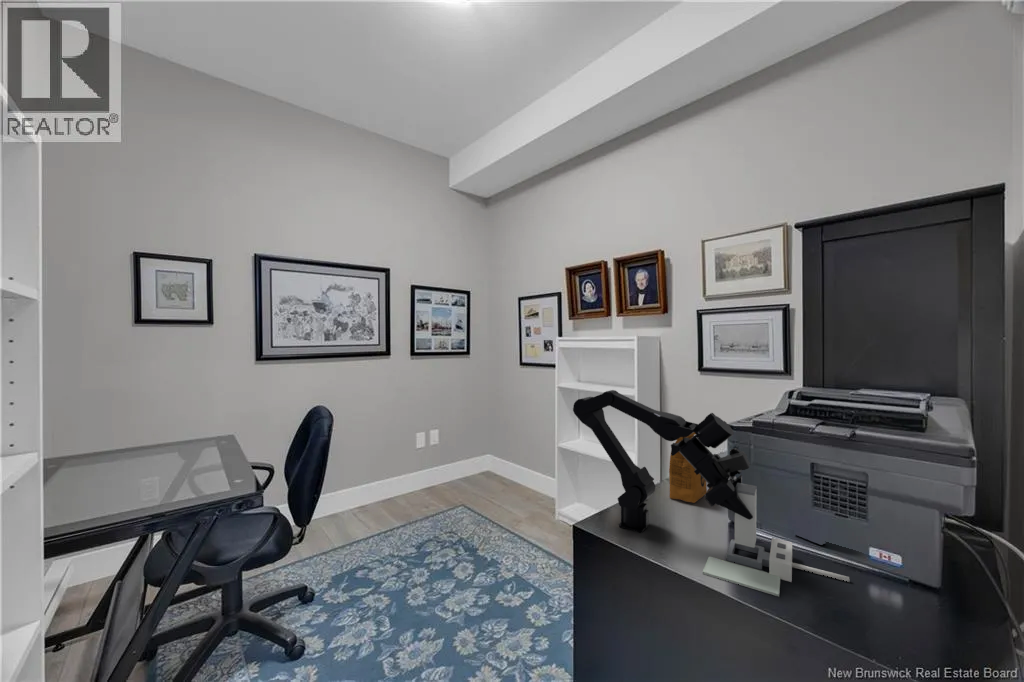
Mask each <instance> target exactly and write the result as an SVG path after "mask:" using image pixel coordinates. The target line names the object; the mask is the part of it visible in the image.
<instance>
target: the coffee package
mask: <svg viewBox="0 0 1024 682" xmlns="http://www.w3.org/2000/svg"><path fill="white" fill-rule="evenodd" d="M695 435H696V434H695V433H692V434H691V435H689V436H688V437H686V438H689V439H691V438H692V437H693V436H695ZM684 438H685V437H680V438H679V439H677V440H675V441H674V443H679V442H680V441H681V440H682V439H684ZM668 466H669V470H668V471H669V472H668V473H669V474H668V475H669V481H668V482H669V498H670V499H671V500H679V501H683V502H686V503H693V504H695V503H697V501H699V500H700V499H702V498H703V497H705V494H706V492H707V490H708V489H707V488H708V487H707V482H706V481H705V479H704V478H703V477H702V476H701V475H700V474H698V475H697V474H696V473H695V472H694V471H695V468H694V467H693V466H692V465H691V464H690V463H689V462H688V461H687V460H686V459H685V457H684V456H683V455H682V454H681V453H680V452H677V453H676V454H675V455H674V456H672V455H671V454H670V456H669V465H668Z"/></svg>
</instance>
